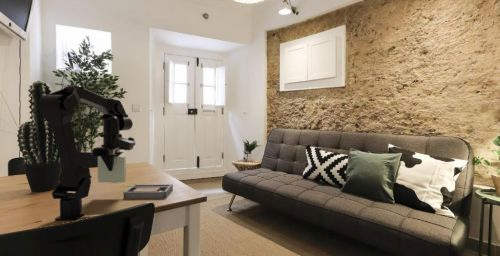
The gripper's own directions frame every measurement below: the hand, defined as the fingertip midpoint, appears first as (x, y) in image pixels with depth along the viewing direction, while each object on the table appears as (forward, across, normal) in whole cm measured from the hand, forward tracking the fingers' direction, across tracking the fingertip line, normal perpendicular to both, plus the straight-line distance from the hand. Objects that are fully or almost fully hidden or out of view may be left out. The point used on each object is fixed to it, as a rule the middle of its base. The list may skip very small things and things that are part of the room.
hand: (111, 170), depth 106 cm
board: (+4, 0, 0) cm, 5 cm away
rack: (+11, +2, -14) cm, 18 cm away
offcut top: (+9, 0, -14) cm, 16 cm away
